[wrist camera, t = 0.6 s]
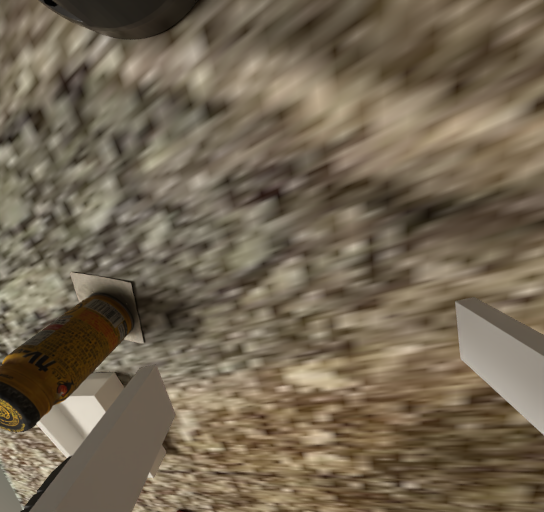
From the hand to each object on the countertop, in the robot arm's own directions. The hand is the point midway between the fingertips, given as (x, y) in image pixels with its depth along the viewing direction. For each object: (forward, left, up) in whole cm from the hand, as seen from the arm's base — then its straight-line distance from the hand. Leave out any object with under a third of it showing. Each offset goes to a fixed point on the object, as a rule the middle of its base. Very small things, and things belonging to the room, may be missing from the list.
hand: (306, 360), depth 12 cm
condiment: (+3, -24, -13) cm, 27 cm away
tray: (+21, -36, -12) cm, 44 cm away
